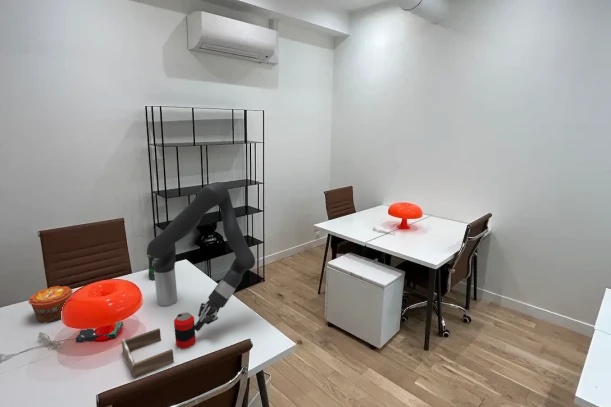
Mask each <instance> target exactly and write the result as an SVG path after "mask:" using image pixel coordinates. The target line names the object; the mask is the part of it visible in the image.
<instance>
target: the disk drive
mask: <svg viewBox="0 0 611 407" xmlns="http://www.w3.org/2000/svg"><path fill="white" fill-rule="evenodd" d="M120 321H121V322H118V323H116V324H115V325H116V327H115V329H114V331H112V332H111V333H109V334H105V335H96V334H95V329H87V330H82V329H81V330H80V331H79V334H77V335H76V337H75V342H80V343H85V342H84V341H89V342H93V341H92V340H95V339H96V338H98V337H100V336H106V337H109V338H111V339H110V340H115V339H117V338H118V336H119V334H118V332H119V329H120V328H121V327H123V326H124V322H123V320H120ZM121 329H122V328H121ZM119 333H120V332H119ZM117 335H118V336H117Z"/></svg>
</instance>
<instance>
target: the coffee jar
mask: <svg viewBox="0 0 611 407" xmlns="http://www.w3.org/2000/svg"><path fill="white" fill-rule="evenodd" d="M146 257H147V258H148V280H150V281H151V280H152V281H155V275H154V264H155V263H156V262H157V260H158V259H155V258H152V257H150V255H149V254H148V250H147V249H146Z"/></svg>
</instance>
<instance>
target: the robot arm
mask: <svg viewBox="0 0 611 407" xmlns="http://www.w3.org/2000/svg"><path fill="white" fill-rule="evenodd" d="M229 192H230V191H229V190H228V187H227V186H226V184H224V183H223V182H221V181H216V182H212V183H208V184H207V185H205V186H204V187H202V188H201V189H200V191H199V192H198V193H197V194H196V195H195V197H194V198H193V200H192V201H191V202H190V203H189V204H188V205H187V206H185V207H184V209H183V210H182V211H181V212H179V213H178V214H177V215H176V216H175V218H173V220H171V222H169V224H168V225H167V226H166V227H165V229H163V231H162V232H160V234H158V235H157V236H156V237H154V238H153V239H152V240H150V242H148V245H147V248H146V251H147V250H148V254H149V255H150V257H152V258H155V259H158V260H157V262H156V263H155V264H154V275H155V280H154V283H155V293H156V294H155V295H156V301H157V305H158V306H161V307H169V306H172V305H174V304H176V302H177V301H178V290H177V289H178V288H177V279H176V267H175V265H176V260H177V255H176V253H177V252H176V251H177V250H176V243H177V242H179V241H180V240H182V239H183V238H184V239H185V237H187V236H188V235H189V234H191V232H193V231H194V230H195V228H197V226H199V224H200V221H201V219H202V217H203V216H204V215H205V214H206V213H207V212H209V211H210V210H211V209H213V208H214V207H216V206H218V208H219V210H220V213H221V217H222V229H223V234H224V236H225V239H226V241H227V243H228V246H229V247H230V250H231V251H232V252H233V253H234V255H235V259H234V260H233V262H232V264H231V265H230V268H229V270H228V271H227V272H226V273H225V275H224V276H223V278H222V279H221V280H220V281H219V282H218V284H217V285H215V287H214V288H213V290H212V291H211V293H210V294H209V296H207V297H208V300H207V301H206V303H204V302H201V303H200V306H199V310H198V313H197V317H198V320H197V322H196V323H195V332H196V331H197V332H199V331H200V330H201V329H202V327H204V325H209V324H212V323H213V322H215V321H217V320H218V319H219V317H218V313H219V311H220V309H221V308H224V307H225V306H226V304H227V303H228V301H229V300H230V299H231V297H232V296H233V295H234V292H235V291H236V289H237V288H238V286H239V285H240V283H241V282H242V280H243V275H244V274H245V272H246V271H250V270H252V269H254V267H255V265H256V259H255V256H254V253H253V252H252V250H251V248H250V247H249V244H248V243H247V241H246V239H245V236H244V234H243V231H242V230H241V227H240V225H239V223H238V219H237V217H236V212H235V209H234V206H233V203H232V198H231V194H230V193H229Z"/></svg>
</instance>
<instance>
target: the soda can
mask: <svg viewBox="0 0 611 407" xmlns="http://www.w3.org/2000/svg"><path fill="white" fill-rule="evenodd" d="M173 324H174V325H173V326H174V337H175V338H174V339H175V345H176V347H177V348H178V349H188V348H191V347H193V345H194V344H196V341H197V340H196V339H197V338H196V330H195V324H196V323H195V316H194V315H192V313H190V312H182V313H179V314H177V316H176V317H175V318H174V320H173Z"/></svg>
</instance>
